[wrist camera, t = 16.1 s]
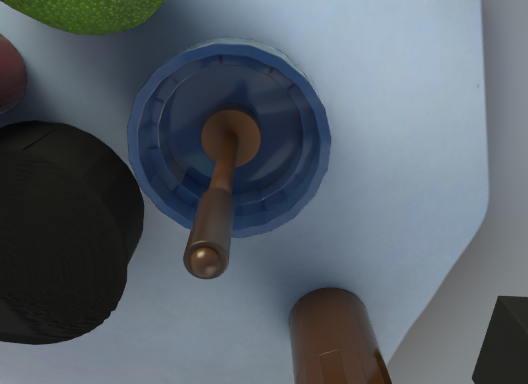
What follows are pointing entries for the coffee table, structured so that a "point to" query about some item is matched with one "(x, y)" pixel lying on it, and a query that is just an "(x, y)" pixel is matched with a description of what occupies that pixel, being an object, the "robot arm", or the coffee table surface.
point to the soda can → (11, 76)
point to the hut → (62, 231)
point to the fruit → (88, 14)
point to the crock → (334, 340)
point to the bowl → (195, 114)
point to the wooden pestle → (220, 187)
